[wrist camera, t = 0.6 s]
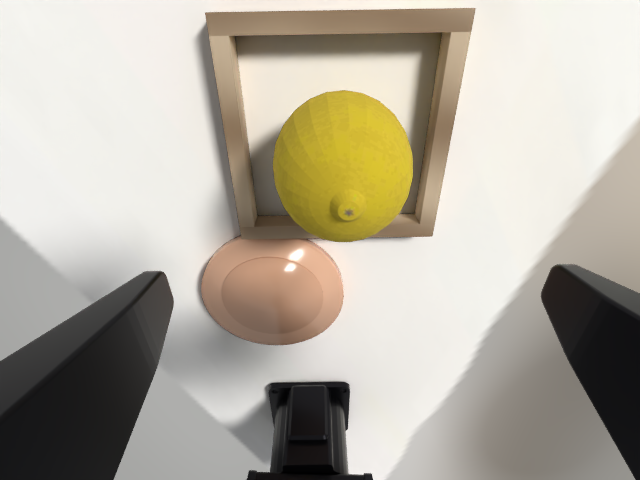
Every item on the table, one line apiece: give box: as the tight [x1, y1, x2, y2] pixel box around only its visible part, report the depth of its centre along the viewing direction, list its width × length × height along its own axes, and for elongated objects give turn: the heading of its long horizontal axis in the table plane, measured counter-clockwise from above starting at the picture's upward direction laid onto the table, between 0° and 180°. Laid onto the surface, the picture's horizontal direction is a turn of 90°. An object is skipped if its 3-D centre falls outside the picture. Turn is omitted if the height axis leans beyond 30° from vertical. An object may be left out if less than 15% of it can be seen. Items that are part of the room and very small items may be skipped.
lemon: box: [273, 90, 413, 242], centre depth 14 cm, size 6×6×8 cm
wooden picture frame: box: [205, 8, 476, 239], centre depth 17 cm, size 11×11×1 cm
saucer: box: [201, 236, 344, 345], centre depth 23 cm, size 9×9×1 cm
